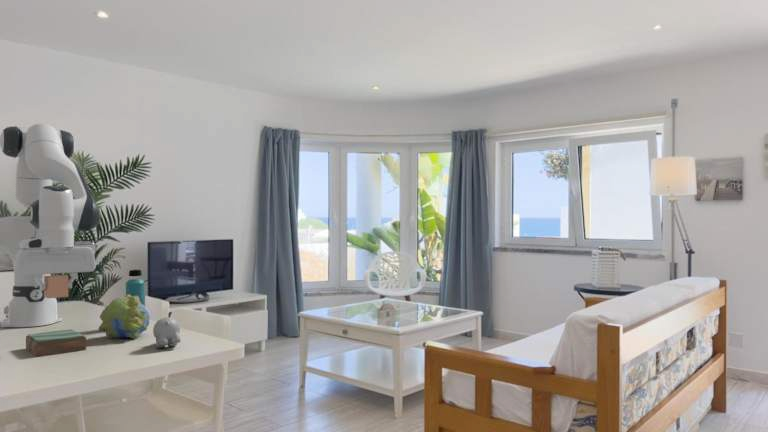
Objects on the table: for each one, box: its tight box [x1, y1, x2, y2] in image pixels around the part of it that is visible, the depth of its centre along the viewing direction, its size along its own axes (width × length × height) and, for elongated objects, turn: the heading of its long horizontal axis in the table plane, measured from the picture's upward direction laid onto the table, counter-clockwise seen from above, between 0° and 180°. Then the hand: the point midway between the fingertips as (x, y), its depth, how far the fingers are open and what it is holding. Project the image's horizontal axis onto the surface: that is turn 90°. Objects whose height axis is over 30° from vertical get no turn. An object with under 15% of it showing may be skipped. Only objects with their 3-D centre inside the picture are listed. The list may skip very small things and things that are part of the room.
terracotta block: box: [44, 274, 69, 299], centre depth 157 cm, size 5×5×6 cm
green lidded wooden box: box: [25, 328, 87, 357], centre depth 157 cm, size 14×12×4 cm
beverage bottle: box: [125, 269, 146, 306], centre depth 191 cm, size 6×7×20 cm
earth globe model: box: [98, 294, 151, 340], centre depth 172 cm, size 14×16×15 cm
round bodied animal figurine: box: [152, 316, 182, 349], centre depth 160 cm, size 7×12×8 cm, turn 34°
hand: (56, 289), depth 157 cm, fingers closed on terracotta block, 5 cm apart
